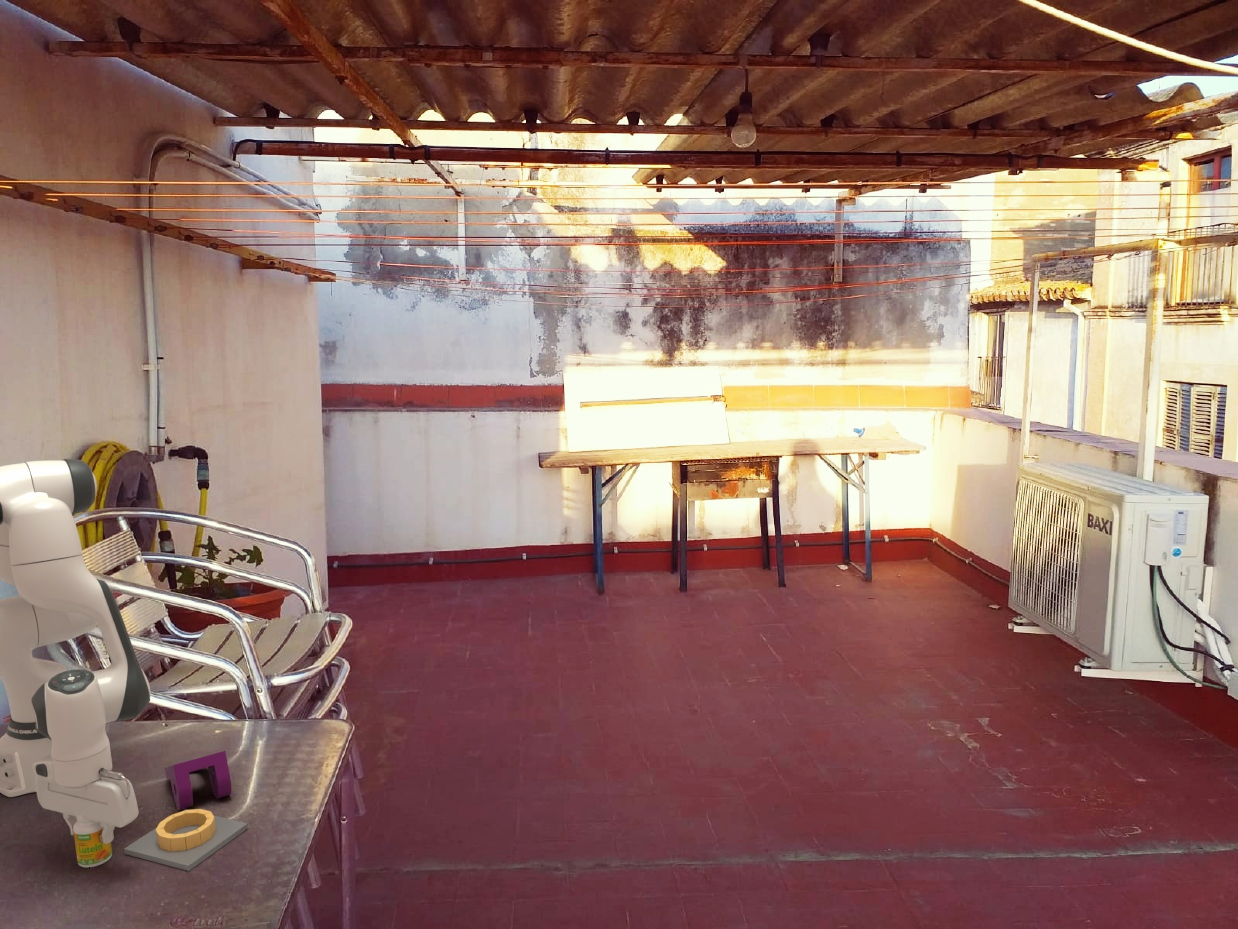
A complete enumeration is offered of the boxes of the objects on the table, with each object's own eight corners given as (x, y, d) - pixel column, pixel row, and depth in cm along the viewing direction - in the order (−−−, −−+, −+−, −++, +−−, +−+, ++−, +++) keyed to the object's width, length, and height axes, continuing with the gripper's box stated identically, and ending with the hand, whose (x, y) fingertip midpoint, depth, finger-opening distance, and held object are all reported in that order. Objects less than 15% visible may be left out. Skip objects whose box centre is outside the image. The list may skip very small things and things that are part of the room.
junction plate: (124, 854, 170) (122, 836, 170) (186, 813, 183) (184, 797, 182) (188, 871, 165) (186, 852, 164) (247, 828, 177) (246, 811, 177)
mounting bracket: (169, 811, 195) (181, 810, 181) (162, 769, 197) (173, 765, 182) (218, 796, 201) (233, 794, 186) (210, 756, 202) (225, 750, 188)
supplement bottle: (76, 871, 165) (69, 820, 163) (79, 855, 170) (72, 805, 168) (111, 863, 167) (104, 812, 166) (113, 847, 172) (107, 798, 170)
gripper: (142, 766, 164) (151, 839, 167) (57, 747, 172) (67, 818, 175) (111, 783, 159) (121, 859, 161) (24, 763, 166) (35, 836, 169)
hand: (92, 838), depth 168 cm, fingers closed on supplement bottle, 5 cm apart
